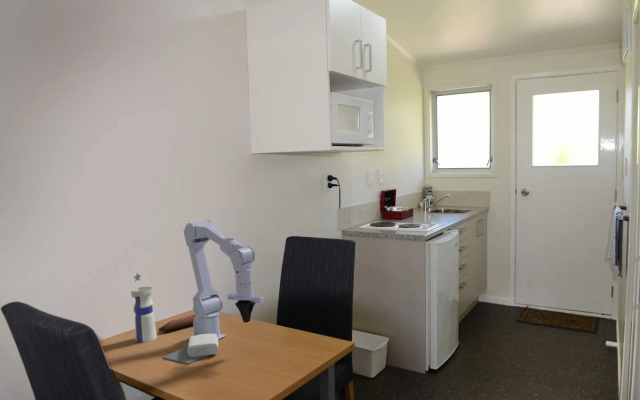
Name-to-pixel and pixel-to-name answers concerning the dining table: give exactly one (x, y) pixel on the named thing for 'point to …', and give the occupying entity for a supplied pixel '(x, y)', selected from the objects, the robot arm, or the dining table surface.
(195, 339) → the photo printer
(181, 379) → the dining table surface
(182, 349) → the topple mat
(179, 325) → the sunglasses case
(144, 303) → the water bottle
